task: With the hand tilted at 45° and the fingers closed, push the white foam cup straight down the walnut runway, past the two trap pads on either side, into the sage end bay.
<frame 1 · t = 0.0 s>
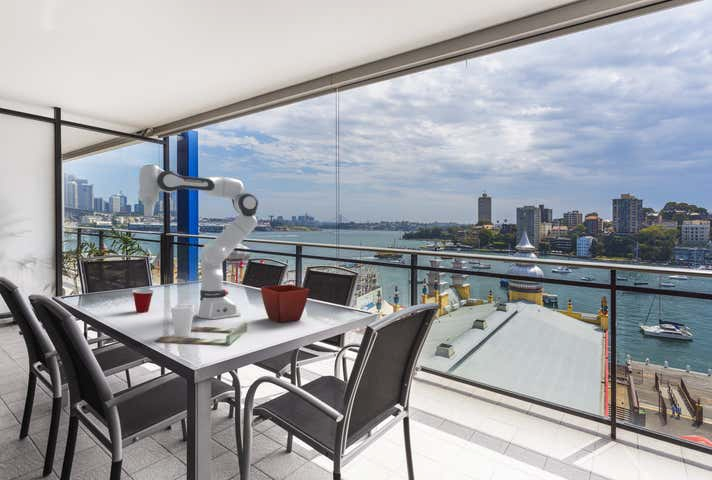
hand: (148, 225, 188), 48 cm above the table, tool pointing down, fingers open, 8 cm apart
plant pot: (283, 319, 201), on the table
plastic cup: (142, 311, 207), on the table
trap pads: (202, 336, 166), resting on runway box
foam cup: (182, 335, 166), on the table
runway box: (202, 336, 166), on the table
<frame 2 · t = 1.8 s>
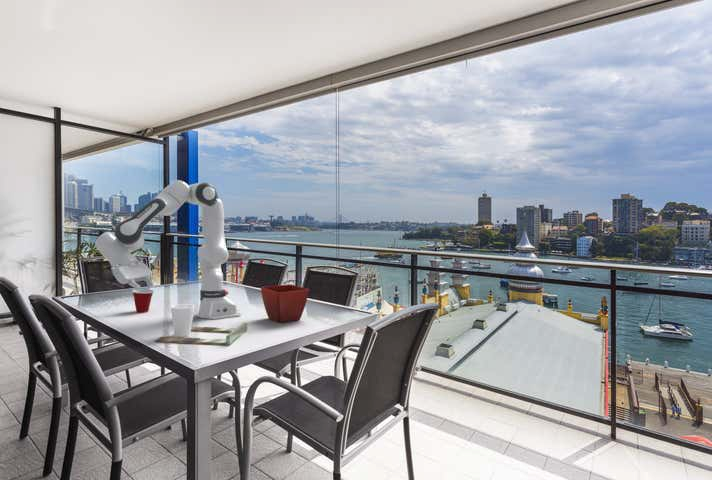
hand: (145, 287, 167), 21 cm above the table, tool tilted 45°, fingers open, 8 cm apart
nothing on the table moved.
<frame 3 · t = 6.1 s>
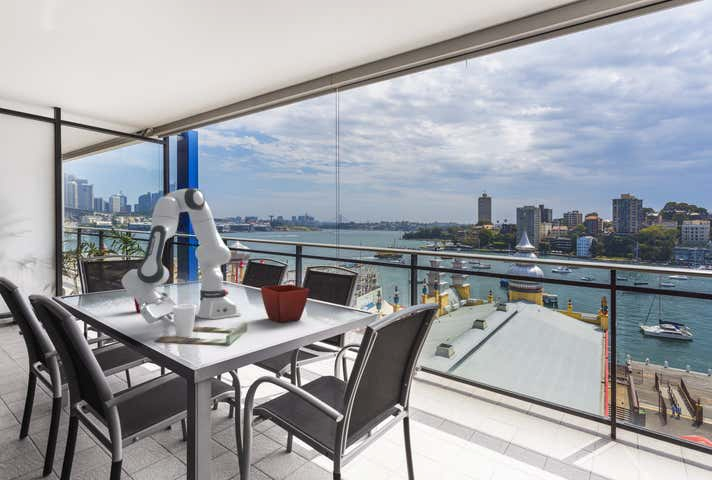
hand: (172, 323, 166), 5 cm above the table, tool tilted 45°, fingers closed
foam cup: (184, 335, 166), on the table, touching gripper
everything else where it was.
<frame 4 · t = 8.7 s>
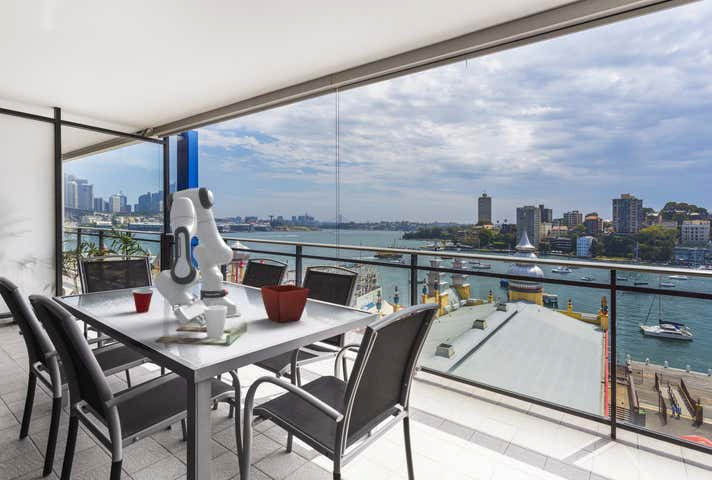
hand: (204, 325, 166), 5 cm above the table, tool tilted 45°, fingers closed, pressing on foam cup
foam cup: (215, 337, 165), on the table, touching gripper
everything else where it was.
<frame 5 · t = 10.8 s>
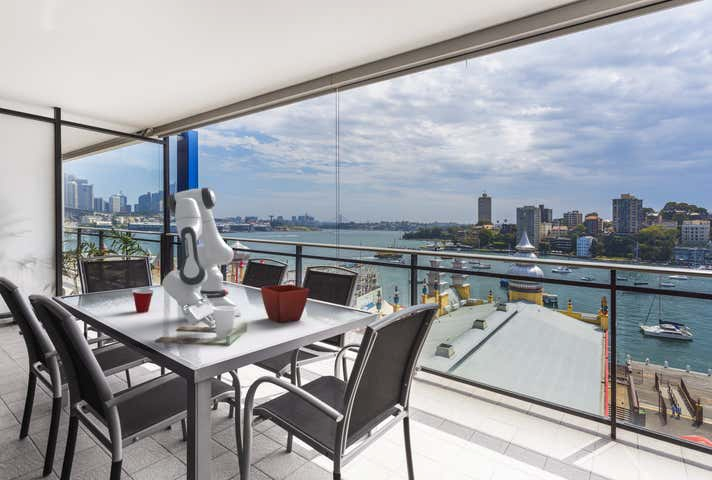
hand: (213, 325, 166), 5 cm above the table, tool tilted 45°, fingers closed
foam cup: (224, 337, 165), on the table
everything else where it was.
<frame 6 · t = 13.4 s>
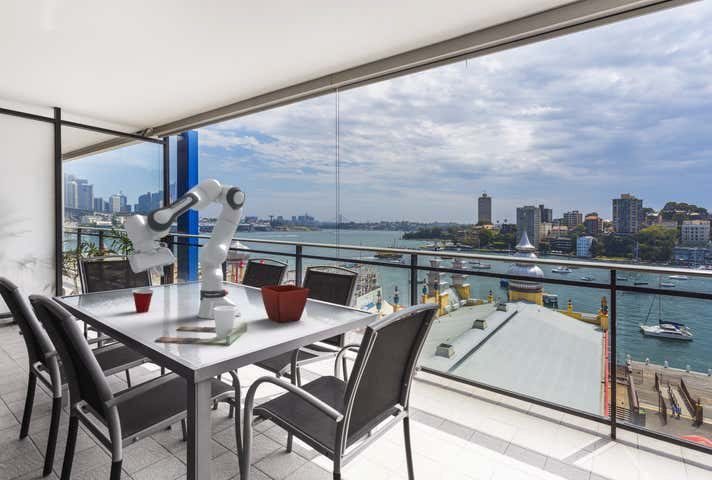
hand: (160, 276, 169), 25 cm above the table, tool tilted 30°, fingers closed
nothing on the table moved.
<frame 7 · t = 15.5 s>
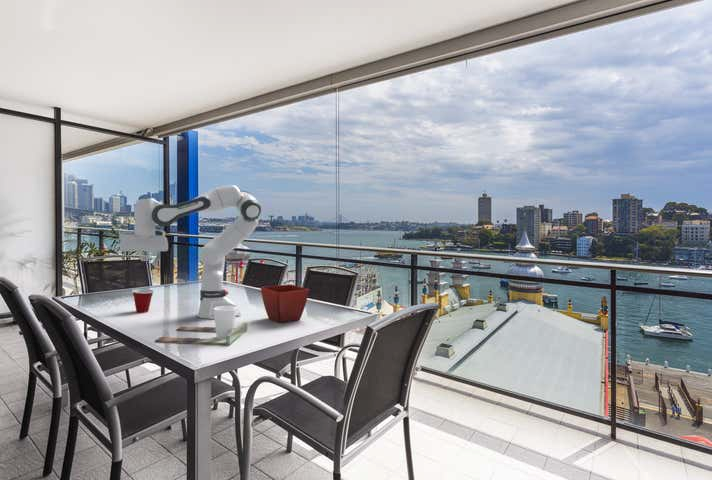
hand: (144, 260, 179), 31 cm above the table, tool pointing down, fingers closed
nothing on the table moved.
at the end: foam cup inside the target area (1.6 cm from its centre), on the table; foam cup tilted 0°; foam cup touching table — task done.
